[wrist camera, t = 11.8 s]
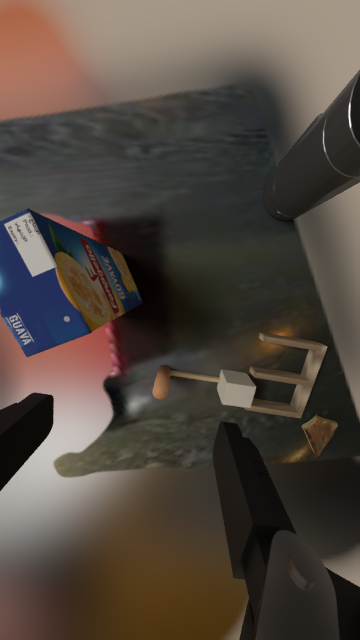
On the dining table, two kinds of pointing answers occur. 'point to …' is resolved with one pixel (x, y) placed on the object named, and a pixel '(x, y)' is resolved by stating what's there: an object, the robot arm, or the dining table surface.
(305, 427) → the shard
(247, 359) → the dining table surface
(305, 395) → the birch lanes
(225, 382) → the corded block
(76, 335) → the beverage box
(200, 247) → the dining table surface
